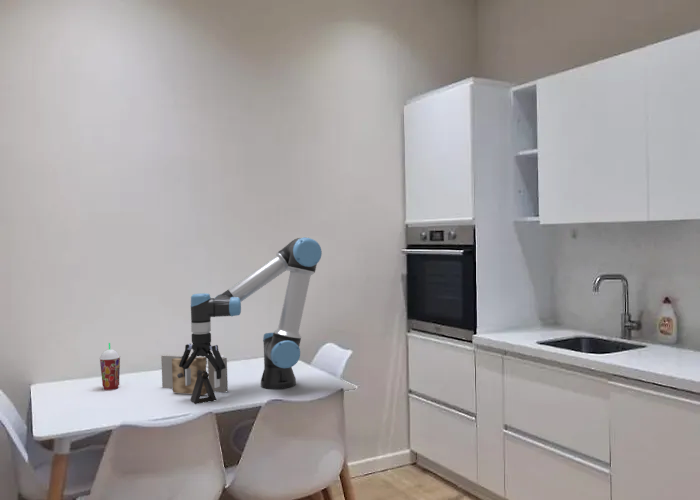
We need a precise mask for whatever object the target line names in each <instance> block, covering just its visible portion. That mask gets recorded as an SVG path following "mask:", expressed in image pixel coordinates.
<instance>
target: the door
mask: <svg viewBox="0 0 700 500" xmlns="http://www.w3.org/2000/svg"><path fill="white" fill-rule="evenodd" d="M197 357H198V358H196V360H195V359H194V361H193V362H192V363H191V365H190V366H189V368H191V384H190V385H187V386H185V377H184V369H183V368H182V367H179V364H180V362H181V359H175V358H174V359H172V379H173V388H172V393H176V394H189V395H192V393H193V390H194V386H195V383H196V380H197V371H198V370H201V371H202V370H204V371H206V372H207V367H206V357H205V356H204V357H202V356H197ZM187 360H188V359H187ZM203 374H204V373H203ZM203 374H202V375H203ZM205 395H207V392H206V388H205V385H204V382H203V386H202V390H201V395H200V396H205Z"/></svg>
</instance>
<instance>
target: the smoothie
mask: <svg viewBox="0 0 700 500" xmlns="http://www.w3.org/2000/svg"><path fill="white" fill-rule="evenodd" d="M120 363H121V356H120V354H119V352H118V351H117V350H115V349H113V348H111V342H108V348H107V349H106V350H104V351H103V352H102V353H101V355H100V357H99V364H100V372H101V373H100V376H101V382H102V383H101V384H102V388H103V389H104V390H106V391H111V390H112V391H113V390H117V389H118V388H119V385H120V374H121V373H120V368H121V367H120V366H121V364H120Z"/></svg>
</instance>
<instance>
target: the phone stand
mask: <svg viewBox="0 0 700 500" xmlns="http://www.w3.org/2000/svg"><path fill="white" fill-rule="evenodd" d="M203 373H204V374H203ZM202 374H203V375H202ZM203 382H204V385H205V388H206V392H207V394H206V395H207V396H206V397H201V396H202V395H201V390H202V386H203ZM214 400H216V401H218V400H217V397H216V394H215V391H213V389H212V386H211V384H210V382H209V375H208V372H207V370H206V371H204V370H202V371H201V370H198V371H197V380H196V383H195V386H194V390H193V393H192V394H191V396H190V401H191V402H192V403H193V404H195V405H197V404H204V403H209V402H208V401H211V402H215V401H214ZM203 402H204V403H203Z"/></svg>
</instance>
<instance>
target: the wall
mask: <svg viewBox="0 0 700 500" xmlns="http://www.w3.org/2000/svg"><path fill="white" fill-rule="evenodd" d="M160 356H161V357H160V358H161V383H162V385H161V386H162V388H163V389H173V379H172V359H174V358H175V359H182V357H183V355H177V354H176V355H175V354H174V355H170V354H169V355H168V354H162V355H160ZM190 356H191V355H189V357H190ZM189 357H188V359H189ZM198 357H199V356H196V358H198ZM196 358H195V360H196ZM214 358H215V357H214ZM222 360H223V362H224V364H225V366H226V368H225V369H222V370H221V379H220V387H217V388H214V371H215V368H214V367H213V366H212V364H211V363H210V361H209V360H208V361H207V358H206V364H207V366H208V368H207V371H208V372H207V373H208V375H209V376H208V379H209V382H210V384H211V386H212V389H213V391H214V392H215V391H216V393H217V392H218V393H226V391H227V392H229V388H228V387H229V385H228V384H229V383H228V358H227V357H224V358H222Z"/></svg>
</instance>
